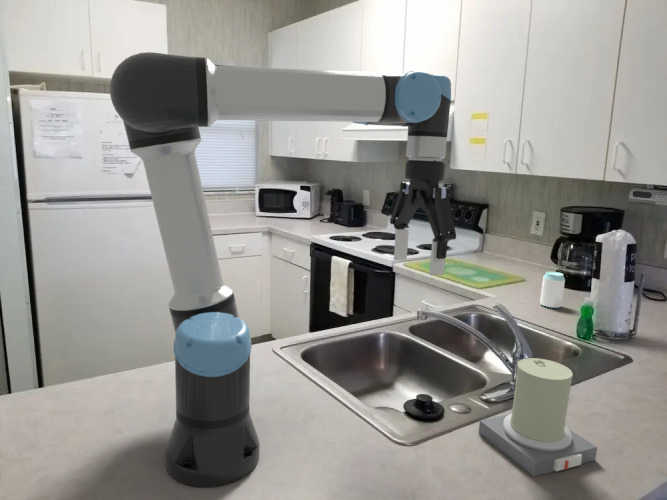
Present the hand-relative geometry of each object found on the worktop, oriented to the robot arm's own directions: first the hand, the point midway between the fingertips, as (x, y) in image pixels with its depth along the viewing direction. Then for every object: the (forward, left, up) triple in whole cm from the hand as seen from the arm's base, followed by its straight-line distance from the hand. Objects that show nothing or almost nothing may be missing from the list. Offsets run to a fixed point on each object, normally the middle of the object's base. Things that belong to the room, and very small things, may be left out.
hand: (417, 266), depth 103 cm
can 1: (+85, +44, -29) cm, 100 cm away
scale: (+13, -23, -29) cm, 39 cm away
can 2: (+13, -23, -25) cm, 37 cm away
